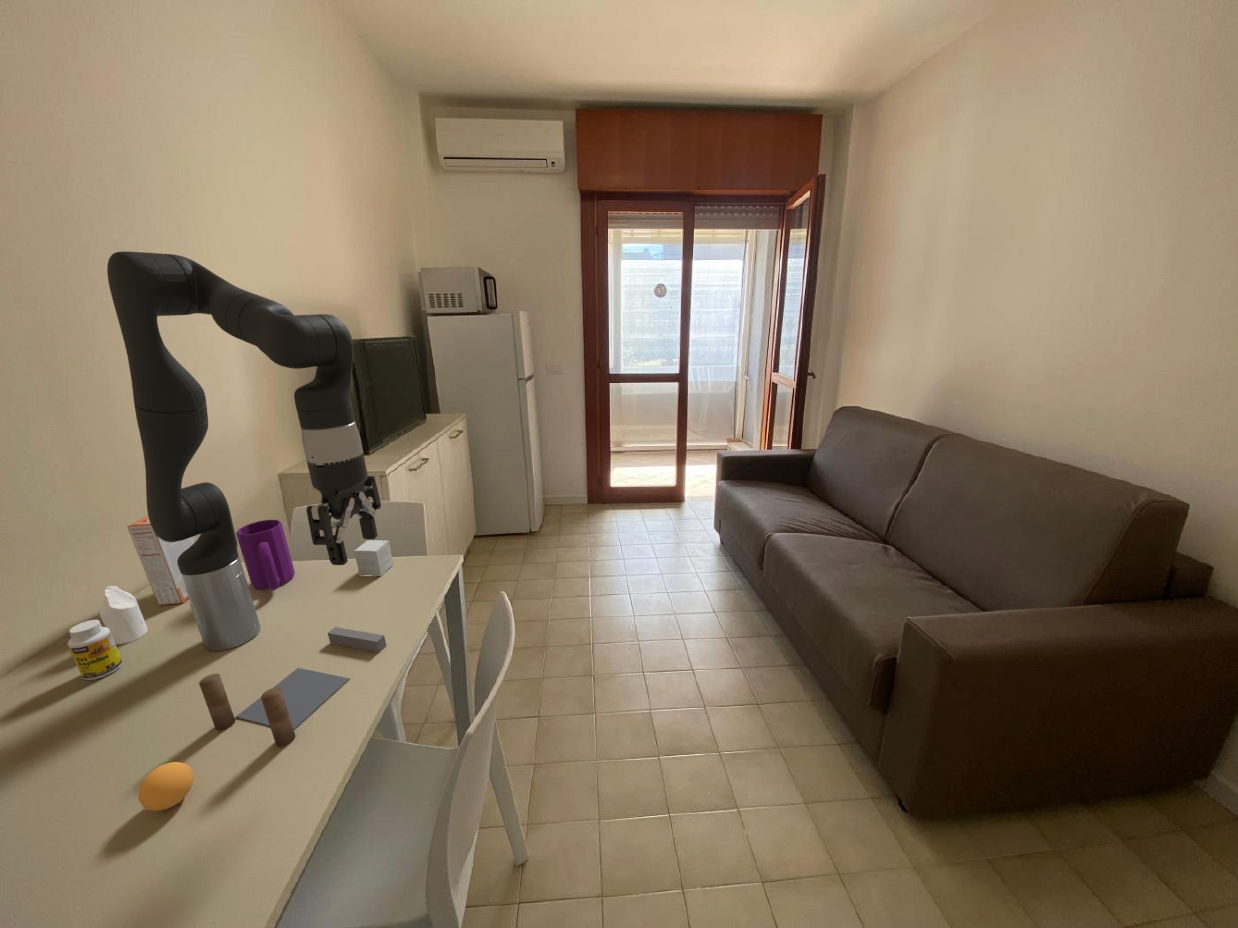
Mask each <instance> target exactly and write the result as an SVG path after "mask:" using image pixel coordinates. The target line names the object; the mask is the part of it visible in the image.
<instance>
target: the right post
mask: <svg viewBox="0 0 1238 928" xmlns="http://www.w3.org/2000/svg"><path fill="white" fill-rule="evenodd" d="M260 697H261V700H262V703H263V706H264V709H265V712H266V715H267V718H268V722H269V725H270V726H269V727H270V730H271V734H272V736H273V739H274V743H275V746H277V747H278V748H282V747H285V746H288V745H289V744H291V743H293V742H294V740H295V738H296V733H295V730H294V729H293V726H292V723H291V720H290V716H289V713H288V710H287V706H286V703H285V700H284V696H283V693H282V690H281V688H279V687H275V688H273V687H271V688H269V689H267V690H265V691H264V692H263V693H262V694H261V696H260Z"/></svg>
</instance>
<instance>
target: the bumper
mask: <svg viewBox="0 0 1238 928" xmlns="http://www.w3.org/2000/svg"><path fill="white" fill-rule="evenodd" d="M327 637H328V641H329V643H330V645H331V644H332V645H335V646H337V645H338V646H342V647H346V648H347V647H348V648H354V649H358V650H364V651H370V652H375V653H381V652H382V651H383V650H384V649H385V648H386V647H387V643H386V642H387V641H386V637H385V635H384V634H377V633H372V632H366V631H361V630H355V629H349V628H343V627H337V626H335V627H333V628H332V629H331V630H330V631H328V632H327Z"/></svg>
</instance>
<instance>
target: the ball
mask: <svg viewBox="0 0 1238 928" xmlns="http://www.w3.org/2000/svg"><path fill="white" fill-rule="evenodd" d="M194 779H195V778H194V771H193V770H192V767H190V766H189V765H188V764H187V763H184V762H179V761H172V762H166V763H164V764H162V765H160V766H158V767H156V768H155V769H153V770H152V771H150V773H148V775H146V777H145V778H144V779H143V781H142V782H141V784H140V786H139V788H138V792H137V793H138V794H137V797H138V798H137V799H138V802H139V803H140V806H142V807H143V809H146V810H148V811H153V812H160V811H164V810H167V809H170V808H172V807H174V806H176V805H177V804H178V803H180V802H181V801H182V800H184V798H186V796H187V795H188V794H189V793H190V791H191V788H192V786H193V784H194Z"/></svg>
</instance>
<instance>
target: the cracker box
mask: <svg viewBox="0 0 1238 928" xmlns="http://www.w3.org/2000/svg"><path fill="white" fill-rule="evenodd" d="M126 528H127V530H128V533H129V535H130V537H131V540H132V542H133V545H134V547H135V550H136V552H137V555H138V558H139V560H140V562H141V565H142V567H143V570H144V572H145V575H146V578H147V580H148V582H149V585H150V588H151V590H152V592H153V595H154V597H155V601H156V603H157V605H158V606H167V605H180V604H183V603H185V602H187V601H188V600H190V598H189V595H188V592H187V589H186V587H185V584H184V581H183V578H182V575H181V572H180V570H179V567H178V564H177V560H178V558H179V556H180V555H181V554H182V553H183V552H184V551H185V550H187V549H188V548H189V547H190V546H192V545H193V544H194V543H195V542H196V540H197V539H198V538H199V536H200V534H199V535H196V536H193V537H190V538H188V539H185V540H181V541H177V542H166V541H163V540H162V539H160V538H159V537H158V536H157V535H156V533H155V532H154V530H153V529H152V526H151V524H150V521H149V517H148V515H147V516H145V517H143V518H141V519H139V520H137V521H135V522H133V523H131V524H129V525H127V526H126Z"/></svg>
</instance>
